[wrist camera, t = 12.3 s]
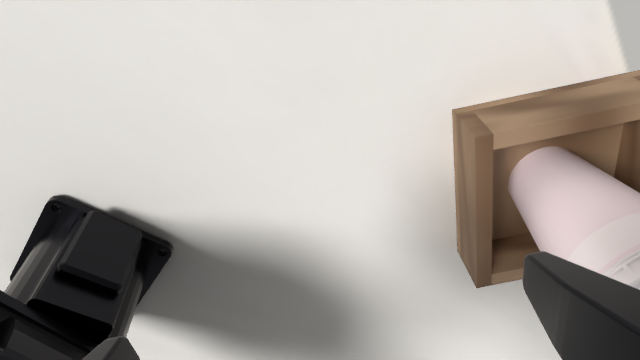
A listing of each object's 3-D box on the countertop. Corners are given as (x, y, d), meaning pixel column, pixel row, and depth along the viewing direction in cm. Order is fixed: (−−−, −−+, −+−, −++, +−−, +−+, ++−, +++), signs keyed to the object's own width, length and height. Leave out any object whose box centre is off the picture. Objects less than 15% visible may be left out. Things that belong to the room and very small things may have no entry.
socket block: (457, 251, 27) (476, 288, 25) (452, 109, 22) (475, 137, 20) (612, 219, 27) (648, 253, 25) (642, 69, 22) (689, 92, 20)
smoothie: (620, 118, 23) (992, 360, 11) (584, 222, 26) (839, 492, 14) (494, 125, 23) (741, 384, 11) (473, 230, 26) (644, 515, 14)
